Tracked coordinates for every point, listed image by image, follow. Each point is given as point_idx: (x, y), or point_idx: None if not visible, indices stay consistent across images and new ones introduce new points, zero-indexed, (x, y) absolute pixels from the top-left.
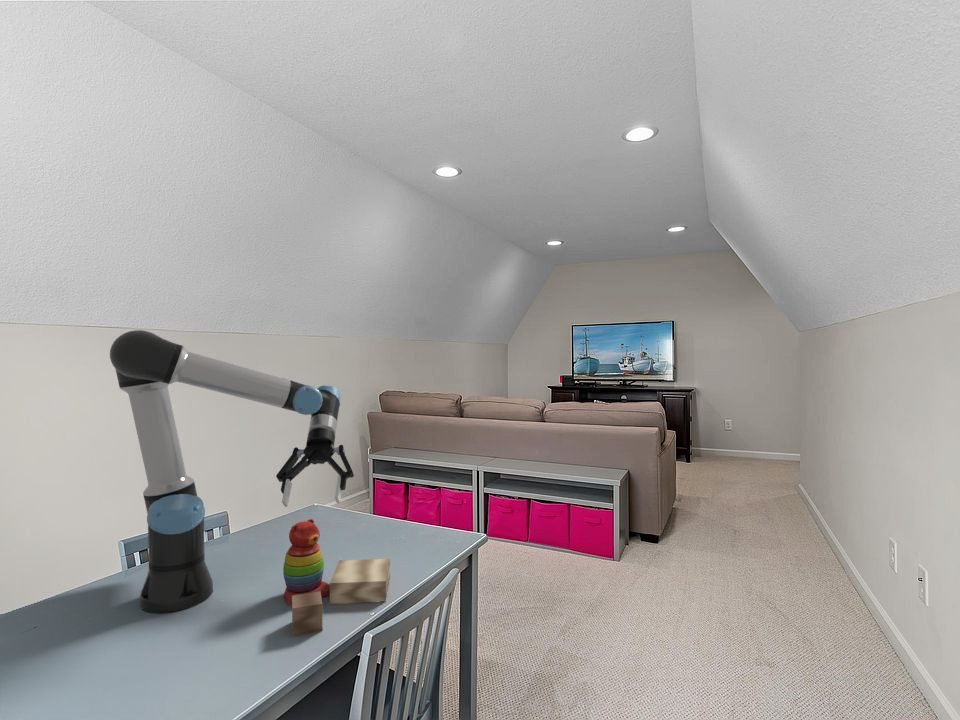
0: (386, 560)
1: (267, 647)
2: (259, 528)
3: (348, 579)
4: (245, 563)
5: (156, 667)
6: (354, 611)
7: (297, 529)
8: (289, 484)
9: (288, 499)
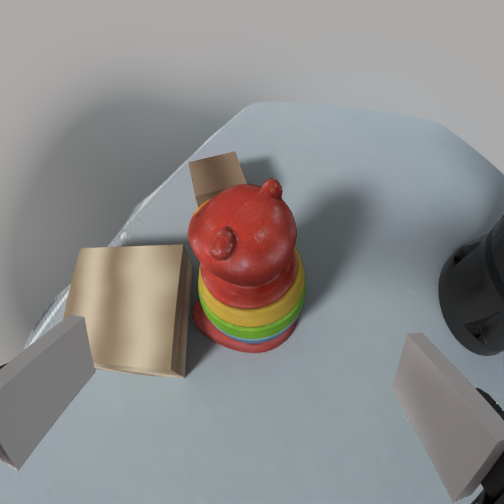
0: None
1: (266, 164)
2: None
3: (144, 258)
4: None
5: (376, 146)
6: (149, 241)
7: (257, 186)
8: (464, 443)
9: (408, 406)
